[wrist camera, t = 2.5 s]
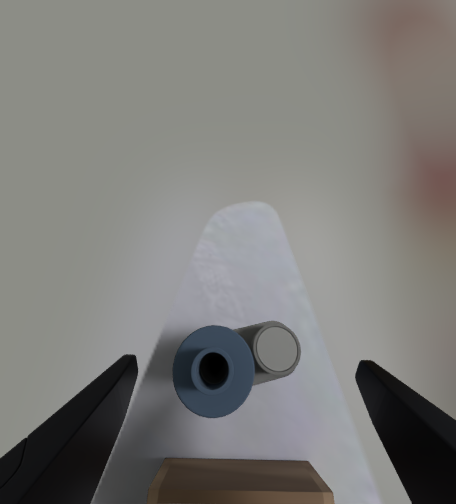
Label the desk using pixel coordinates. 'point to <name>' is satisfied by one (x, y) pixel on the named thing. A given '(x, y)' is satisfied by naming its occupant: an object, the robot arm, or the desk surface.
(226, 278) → the desk surface
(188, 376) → the vaping device
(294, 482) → the box
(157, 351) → the desk surface
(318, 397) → the desk surface
